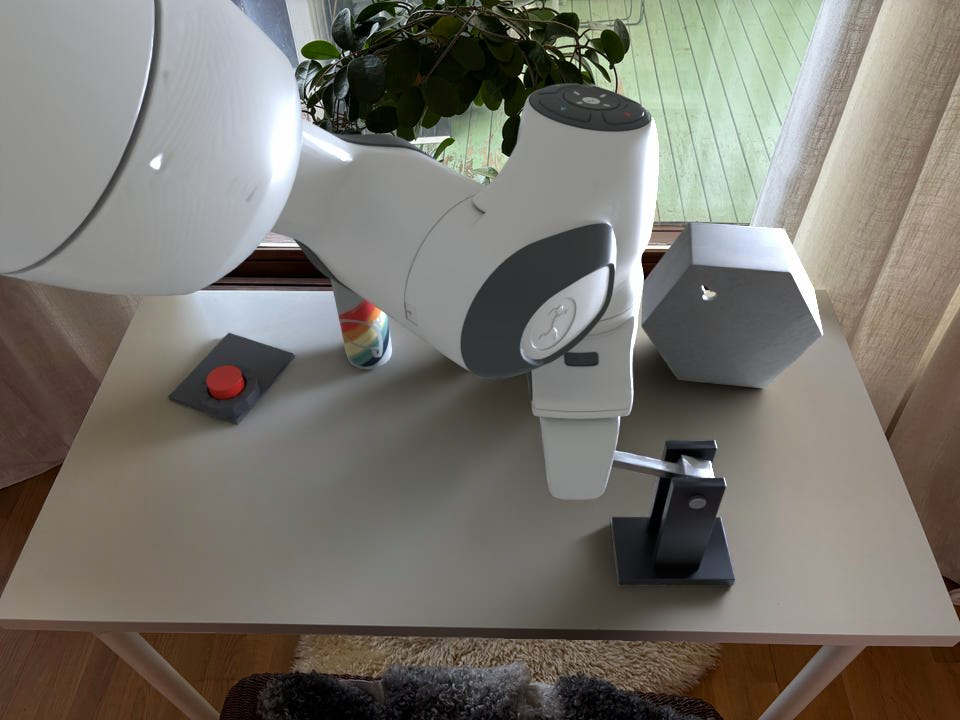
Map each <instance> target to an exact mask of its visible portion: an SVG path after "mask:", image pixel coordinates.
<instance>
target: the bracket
mask: <svg viewBox="0 0 960 720" xmlns="http://www.w3.org/2000/svg"><path fill="white" fill-rule="evenodd" d="M717 450H718V446H717V443H716V440H715V439H699V440H697V439H694V440H693V439H690V440H689V439H687V440H686V439H683V440H682V439H678V440H677V439H675V440H673V439H672V440H671V439H669V440H664V445H663V448H662V452H661V457H660V460H662V461H666V462H671V463H675V462H676V461H677V460H678V459H679V457H680V456H681V455H686V456H691V457H695V458H700V459H704V460H709V461H710V463H711V467H712V466H713V464H714V460H715V457H716V453H717ZM726 490H727V483H726V479H725V477H721V476H720V477H716V476H714V478H672V480H671V479H667V478H662V477H657V476H656V480H655V484H654V488H653V492H652V497H651V502H650V506H649V509H648V510H649V511H648V514H647V516H611V520H610V529H611V537H612V546H613V547H612V548H613V554H614V555H613V556H614V563H615V573H616V581H617V586H680V587H681V586H688V587H689V586H693V587H694V586H695V587H696V586H697V587H698V586H699V587H700V586H704V587H705V586H706V587H707V586H708V587H710V586H711V587H712V586H715V587H716V586H717V587H719V586H723V587H730V586H731V587H732V586H734V584H735V582H736V575H735V571H734V567H733V561H732V558H731V553H730V549H729V545H728V542H727V536H726V532H725V528H724V523H723V520H722V517H721V516H718V514H719V510H720V507H721V504H722V500H723V498H724V495H725V492H726Z"/></svg>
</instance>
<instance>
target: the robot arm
mask: <svg viewBox="0 0 960 720" xmlns="http://www.w3.org/2000/svg"><path fill="white" fill-rule="evenodd" d="M301 102H302V101H301V95H300V90H299V86H298V82H297V78H296V76H295V71H294V69H293V66H292V63H291V62H290V60H289V58H288V56H287V55H286V54H285V53H284V52H283V51H282V50H281V49H280V48H279V46H278V45H276V43H275V42H274V41H273V40H272V39H271V38H270V36H268V35H267V34H266V33H265V32H264V31H263V30H262V29H261V28H260V27H259V26H258V25H257V24H256V23H255V22H254V21H253V20H252V19H251V18H250V16H248V15H247V14H246V13H245V12H244V11H243V10H241V8H240V7H239V6H238V5H236V4H235V3H234V1H232V0H0V276H5V277H9V278H13V279H19V280H22V281H23V280H24V281H28V282H33V283H37V284H42V285H47V286H52V287H57V288H62V289H68V290H74V291H80V292H87V293H93V294H94V293H95V294H96V293H97V294H103V295H104V294H105V295H115V296H133V297H137V296H138V297H168V296H169V297H170V296H171V297H172V296H187V295H190V294H194V293H197V292H199V291H201V290H203V289H204V288H206V287H209V286H210V285H212V284H214V283H216V282H218V281H219V280H220V279H222V278H224V277H225V276H227V275H228V274H230V273H231V272H232V271H233V270H235V269H237V268H238V267H239V266H240V265H241V264H242V263H243V262H244V261H245V260H247V258H249V257H250V256H252V254H253V253H254V252H255V250H257V248H258V247H259V246H260V245H261V244H262V242H263V241H264V240H265V239H266V237H267V236H268V235H269V234H270V233H274V234H276V235H280V236H284V237H286V238H289V239H292V240H293V241H294V242H295V243H296V245H298V247H299V249H300V250H301V251H302V252H303V254H304V255H305V256H306V258H307V259H308V261H309V262H310V263H311V264H312V265H313V266H314V267H315V268H316V269H317V270H318V271H319V272H320V273H321V274H323V275H324V276H325V277H326V278H328V279H330V280H331V279H332V280H333V281H335V282H337V283H338V284H340V285H341V286H343V287H345V288H346V289H348V290H350V291H352V292H354V293H356V294H358V295H360V296H361V297H362V298H364V299H365V300H367V301H368V302H370V303H371V304H372V305H374V306H375V307H377V308H378V309H380V310H381V311H382V312H384V313H385V314H387V317H389V318H391V319H392V320H394V321H395V322H397V323H398V324H400V325H401V326H402V327H404V328H405V329H406V330H408V331H410V332H411V333H412V334H413V335H415V336H416V337H418V338H419V339H420V340H422V341H423V342H425V343H426V344H427V345H429V346H430V347H432V348H433V349H434V350H436V351H437V352H438V353H440V354H442V355H443V356H445V357H446V358H447V359H449V360H451V361H452V362H453V363H455V364H457V365H458V366H460V367H461V368H463V369H465V370H467V371H469V372H470V373H471V374H473V375H474V376H475V377H478V378H480V379H483V380H484V379H487V380H498V379H506V378H507V379H508V378H512V377H517V376H520V375H523V374H525V375H526V379H527V385H528V392H529V393H528V394H529V401H530V402H531V413H532V414H533V416H535V417H539V423H540V430H541V439H542V445H543V446H542V447H543V455H544V456H543V457H544V466H545V474H546V481H547V486H548V491H549V493H550V494H551V495H552V497H554V498H555V499H556V498H557V499H560V500H570V501H571V500H574V501H577V500H578V501H579V500H580V501H581V500H582V501H583V500H592V499H598V498H599V497H601V496H602V495H603V494H604V492H605V490H606V487H607V486H608V485H607V484H608V481H609V478H610V475H611V470H612V468H613V467H612V463H613V459H614V454H615V451H617V450H616V449H617V446H618V439H619V433H620V423H621V417H627V416H629V415H630V414H631V412H632V408H633V402H634V367H633V366H634V360H633V359H634V347H635V343H636V338H637V331H638V326H639V312H640V306H641V301H642V288H643V282H644V271H643V266H642V255H643V253H644V252H645V250H646V248H647V247H648V244H649V242H650V239H651V235H652V230H653V224H654V218H655V210H656V201H657V191H658V180H659V179H658V177H659V140H658V133H657V128H656V123H655V120H654V118H653V116H652V115H651V113H650V111H649V110H648V109H646V108H645V107H644V106H643V105H642V103H640V102H638V101H636V100H633V99H632V98H629V97H627V96H625V95H623V94H621V93H618V92H616V91H613V90H609V89H606V88H604V87H600V86H597V85H589V84H580V83H574V82H573V83H556V84H551V85H548V86H545V87H542V88H539V89H536V90H534V91H533V92H531V93H530V94H529V95H528V96H527V98H526V99H525V103H524V105H523V108H522V112H521V116H520V121H519V126H518V132H517V139H516V144H515V146H514V148H513V150H512V152H511V154H510V156H509V157H508V158H507V161H506V162H505V163H504V165H503V166H502V167H501V169H500V171H499V172H498V173H497V174H496V176H495V177H494V178H493V179H492V180H491V181H490V182H489V184H487V185H484V184H482V183H480V182H479V181H477V180H474V179H472V178H470V177H469V176H467V175H464V174H463V173H461V172H459V171H458V170H455V169H453V168H452V167H450V166H448V165H446V164H444V163H442V162H440V161H438V159H436V158H434V156H432V155H430V154H429V153H427V152H425V151H424V150H422V149H421V148H419V147H418V146H416V145H414V144H412V143H411V142H410V141H408V140H406V139H404V138H402V137H399V136H396V135H393V134H386V133H361V134H360V133H359V134H340V133H339V134H338V133H334V132H333V133H332V132H329V131H328V130H325V129H324V128H322V127H320V126H318V125H316V124H315V123H313V122H312V121H309V120H307V119H305V118H303V110H302V103H301Z"/></svg>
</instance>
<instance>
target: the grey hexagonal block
mask: <svg viewBox="0 0 960 720" xmlns="http://www.w3.org/2000/svg"><path fill="white" fill-rule="evenodd" d="M704 286H706V288H707V290H708V291H709V292H710V293H715V294H714V295H713V296H709V297H708V296H706V295H705V294H706V289H705V288H704ZM640 320H641V321H640V323H641V324H640V325H641V326H640V327H641V328H642V330H643V332H644V333H645V335H647V337H648V339H649V340H650V341H651V343H652V344H653V346H654V348H655V349H656V350H657V352H658V353H659V355H660V356H661V358H662V359H663V360H664V362H665V363H666V365H667V366H668V367H669V369H670V370H671V372H672V374H673V375H674V376H675V378H676V379H677V380H678V381H686V382H695V383H705V384H714V385H725V386H734V387H744V388H745V387H746V388H756V389H765V388H768V387H769V386H770V385H771V384H772V383H773V382H774V381H775V380H776V379H778V378H779V377H780V376H781V375H782V374H783V373H784V372H785V371H786V370H787V369H789V367H791V365H793V364H794V363H795V362H796V361H797V360H798V359H799V358H800V357H801V356H802V355H803V354H804V353H805V352H806V351H807V350H809V349H810V348H811V347H812V346H813V345H814V344H815V343H816V342H818V341H819V339H821V338H822V336H823V335H824V332H823V328H822V323H821V318H820V314H819V308H818V303H817V298H816V293H815V289H814V287H813V285H812V283H811V281H810V279H809V277H808V274H807V273H806V271H805V268H804V267H803V264H802V263H801V261H800V258H799V257H798V255H797V252H796V250H795V248H794V247H793V244H792V242H791V241H790V239H789V236H788V234H787V233H786V230H785V229H784V228H776V227H775V228H774V227H761V226H749V225H747V226H746V225H735V224H722V223H707V222H694V221H690V222H688V223H687V224H686V226H684V228H683V229H682V231H681V232H680V233H679V234H678V236H677V237H676V238H675V240H674V241H673V242H672V244H671V245H670V247H668V249H667V250H666V251H665V253H664V254H663V256H662V257H661V258H660V260H659V261H658V262H657V263H656V265H655V266H654V267H653V269H652V270H651V271H650V273H649V274H648V275H647V276H646V278H645V279H644V280H643V288H642V295H641V319H640Z"/></svg>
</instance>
